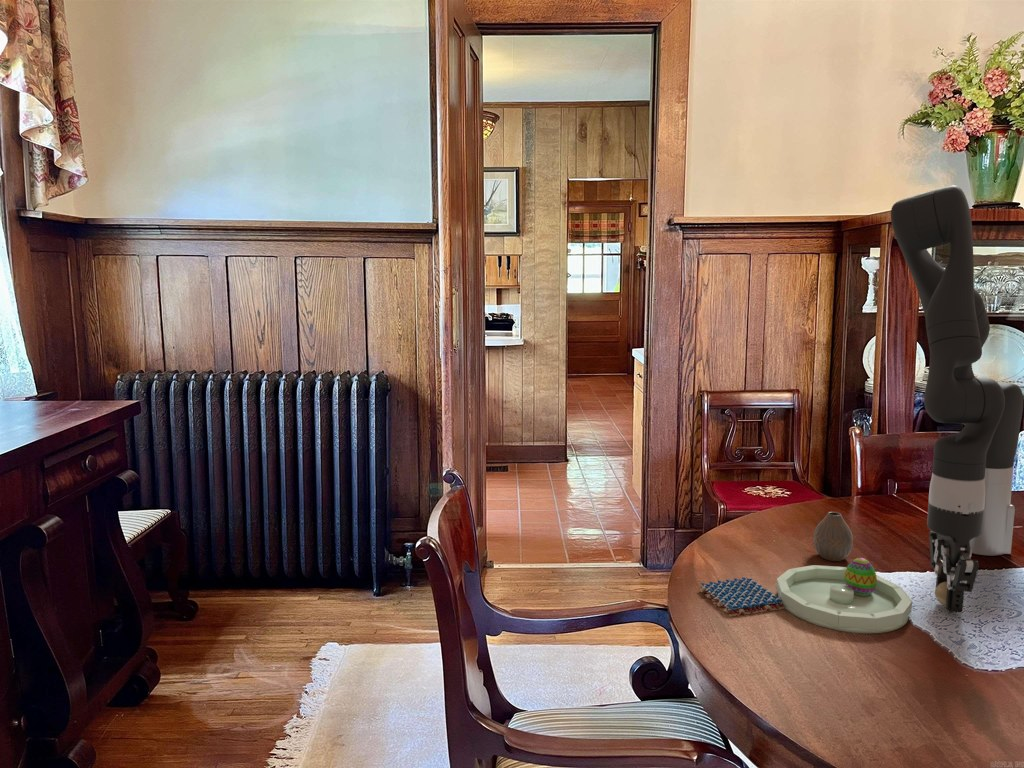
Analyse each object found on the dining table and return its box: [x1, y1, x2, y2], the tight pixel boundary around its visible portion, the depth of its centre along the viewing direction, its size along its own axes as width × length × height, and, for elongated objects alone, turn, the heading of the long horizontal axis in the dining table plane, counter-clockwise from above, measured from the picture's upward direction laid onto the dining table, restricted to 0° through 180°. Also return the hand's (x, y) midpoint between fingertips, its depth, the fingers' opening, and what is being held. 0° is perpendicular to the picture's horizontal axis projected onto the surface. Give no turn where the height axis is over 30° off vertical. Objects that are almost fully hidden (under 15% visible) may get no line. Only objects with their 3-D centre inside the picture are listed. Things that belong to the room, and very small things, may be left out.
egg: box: [844, 557, 877, 596], centre depth 121 cm, size 5×5×6 cm
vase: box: [813, 511, 854, 562], centre depth 138 cm, size 7×7×9 cm
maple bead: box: [934, 582, 948, 607], centre depth 116 cm, size 4×4×4 cm
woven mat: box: [699, 576, 785, 617], centre depth 121 cm, size 10×11×2 cm
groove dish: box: [776, 564, 913, 634], centre depth 119 cm, size 20×20×3 cm
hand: (948, 604), depth 116 cm, fingers closed on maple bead, 4 cm apart
